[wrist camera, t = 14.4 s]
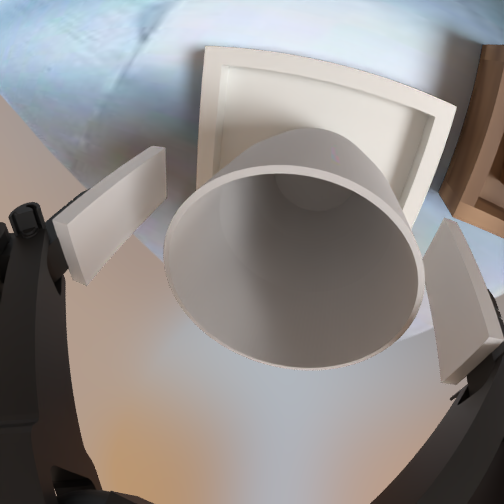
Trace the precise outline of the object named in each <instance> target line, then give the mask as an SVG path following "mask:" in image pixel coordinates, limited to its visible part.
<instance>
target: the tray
mask: <svg viewBox="0 0 504 504" xmlns="http://www.w3.org/2000/svg"><path fill="white" fill-rule="evenodd" d="M456 108H457V107H456V106H454V105H452V104H450V103H448V102H446V101H444V100H441V99H439V98H437V97H435V96H432V95H430V94H427V93H425V92H422V91H420V90H417V89H415V88H412V87H410V86H407V85H404V84H402V83H399V82H396V81H393V80H390V79H387V78H384V77H381V76H378V75H375V74H371V73H368V72H365V71H361V70H358V69H354V68H350V67H347V66H343V65H339V64H335V63H330V62H326V61H322V60H317V59H312V58H307V57H302V56H296V55H291V54H284V53H278V52H271V51H263V50H255V49H245V48H234V47H219V46H205V55H204V65H203V76H202V88H201V101H200V116H199V133H198V152H197V177H196V190H198V189H199V188H200V187H201V186H202V185H203V184H205V183H206V182H207V181H208V180H209V179H211V178H212V177H213V176H214V175H215V174H217V173H218V172H219V171H220V170H221V169H223V168H224V167H225V166H226V165H228V164H229V163H230V162H231V161H233V160H234V159H235V158H236V157H238V156H239V155H240V154H241V153H243V152H244V151H245V150H247V149H248V148H250V147H251V146H253V145H255V144H257V143H259V142H261V141H263V140H265V139H268V138H271V137H273V136H276V135H279V134H281V133H284V132H287V131H290V130H293V129H298V128H320V129H325V130H329V131H332V132H335V133H337V134H339V135H341V136H343V137H345V138H347V139H348V140H350V141H351V142H352V143H354V144H355V145H356V146H357V147H358V148H359V149H360V150H361V151H362V152H363V153H364V154H365V155H366V156H367V157H368V158H369V159H370V160H371V161H372V162H373V163H374V164H375V165H376V166H377V167H378V168H379V169H380V171H381V172H382V173H383V175H384V176H385V178H386V179H387V181H388V183H389V185H390V187H391V189H392V191H393V193H394V195H395V197H396V199H397V201H398V203H399V205H400V207H401V209H402V211H403V213H404V215H405V217H406V219H407V222H408V224H409V226H410V228H411V229H412V227H413V224H414V222H415V220H416V218H417V216H418V213H419V211H420V209H421V206H422V204H423V202H424V199H425V197H426V194H427V192H428V190H429V187H430V185H431V182H432V180H433V177H434V174H435V172H436V169H437V166H438V164H439V161H440V158H441V155H442V153H443V150H444V147H445V144H446V141H447V138H448V135H449V132H450V128H451V125H452V122H453V119H454V115H455V112H456Z"/></svg>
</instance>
